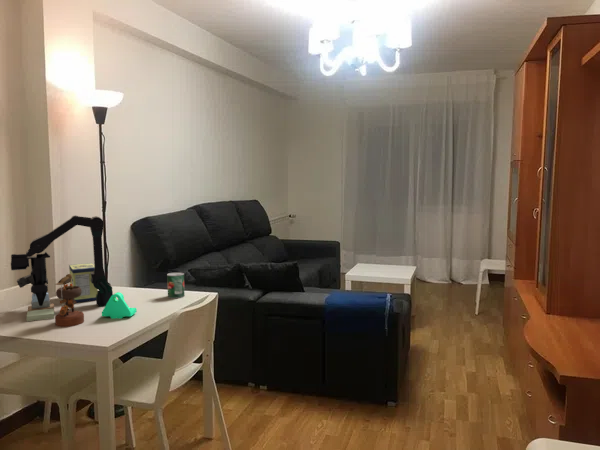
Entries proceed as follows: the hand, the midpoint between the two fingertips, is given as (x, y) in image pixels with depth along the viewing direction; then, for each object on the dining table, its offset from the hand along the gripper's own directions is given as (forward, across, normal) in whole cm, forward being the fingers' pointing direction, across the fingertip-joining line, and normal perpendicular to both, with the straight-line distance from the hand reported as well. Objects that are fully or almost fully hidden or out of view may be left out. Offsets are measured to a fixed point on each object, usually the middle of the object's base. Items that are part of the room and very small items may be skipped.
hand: (40, 304), depth 225 cm
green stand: (+3, +10, 0) cm, 10 cm away
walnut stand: (+3, 0, 0) cm, 3 cm away
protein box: (+3, -17, +18) cm, 25 cm away
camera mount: (+4, +23, +30) cm, 37 cm away
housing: (+1, 0, 0) cm, 1 cm away
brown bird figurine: (+3, +24, +11) cm, 26 cm away
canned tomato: (+3, -1, +58) cm, 58 cm away
